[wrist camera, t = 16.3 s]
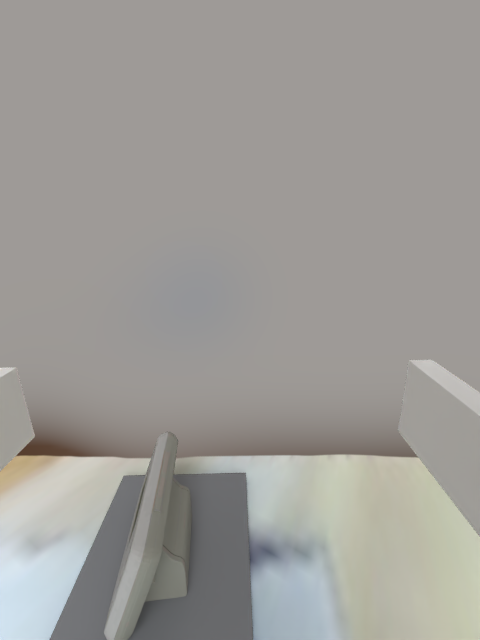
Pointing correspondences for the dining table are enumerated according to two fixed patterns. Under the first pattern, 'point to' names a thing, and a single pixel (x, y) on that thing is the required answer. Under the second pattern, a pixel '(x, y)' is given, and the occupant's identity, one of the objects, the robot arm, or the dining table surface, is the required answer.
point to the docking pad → (203, 579)
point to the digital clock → (153, 544)
